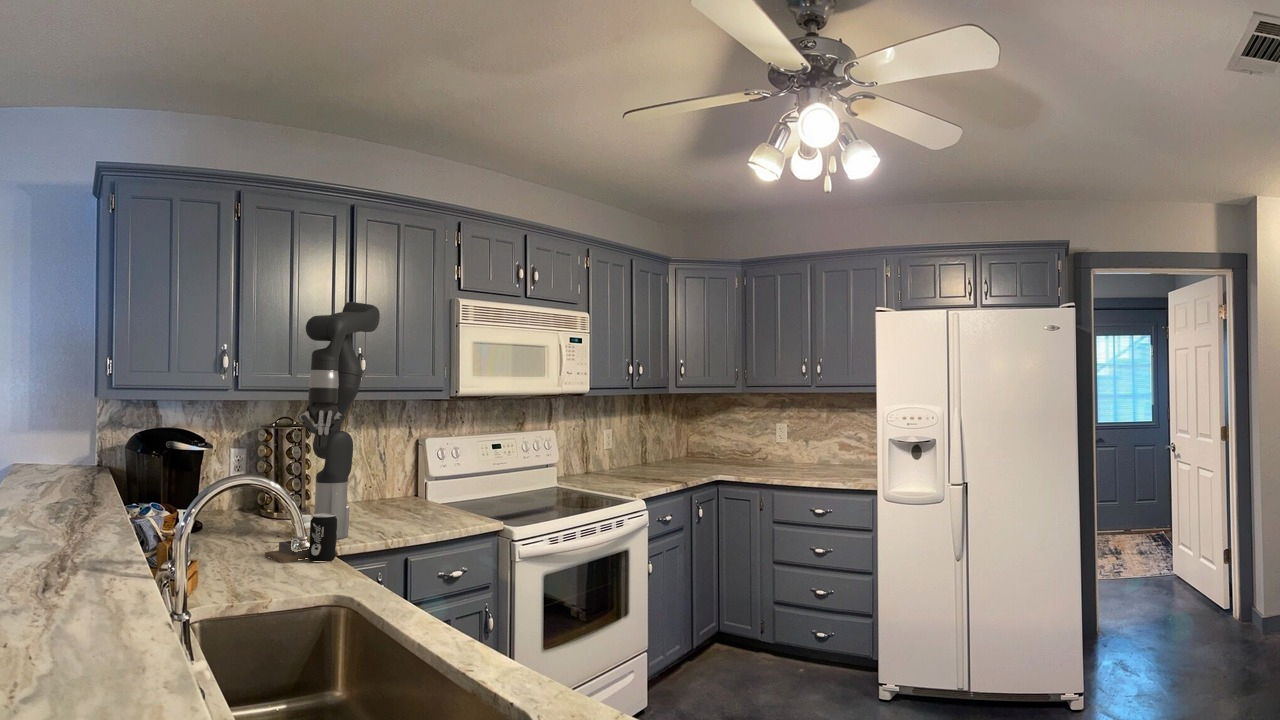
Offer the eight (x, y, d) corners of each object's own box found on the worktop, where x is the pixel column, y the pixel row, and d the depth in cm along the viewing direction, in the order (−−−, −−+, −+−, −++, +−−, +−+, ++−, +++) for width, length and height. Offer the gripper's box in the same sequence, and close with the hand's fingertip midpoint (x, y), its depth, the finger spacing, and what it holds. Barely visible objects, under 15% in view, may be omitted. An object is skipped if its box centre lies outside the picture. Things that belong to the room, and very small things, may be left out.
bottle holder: (316, 549, 200) (317, 536, 200) (335, 555, 193) (336, 541, 193) (264, 556, 189) (265, 542, 189) (283, 562, 182) (283, 548, 182)
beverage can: (337, 561, 185) (339, 515, 186) (310, 564, 181) (312, 517, 182) (333, 557, 190) (335, 512, 191) (306, 559, 187) (309, 513, 188)
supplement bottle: (315, 551, 191) (317, 515, 192) (294, 554, 188) (296, 517, 188) (308, 548, 195) (309, 513, 196) (287, 550, 191) (289, 515, 192)
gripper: (339, 387, 205) (336, 447, 204) (293, 385, 195) (290, 448, 194) (352, 387, 200) (349, 448, 199) (306, 385, 190) (303, 450, 189)
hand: (320, 448), depth 196 cm, fingers closed
